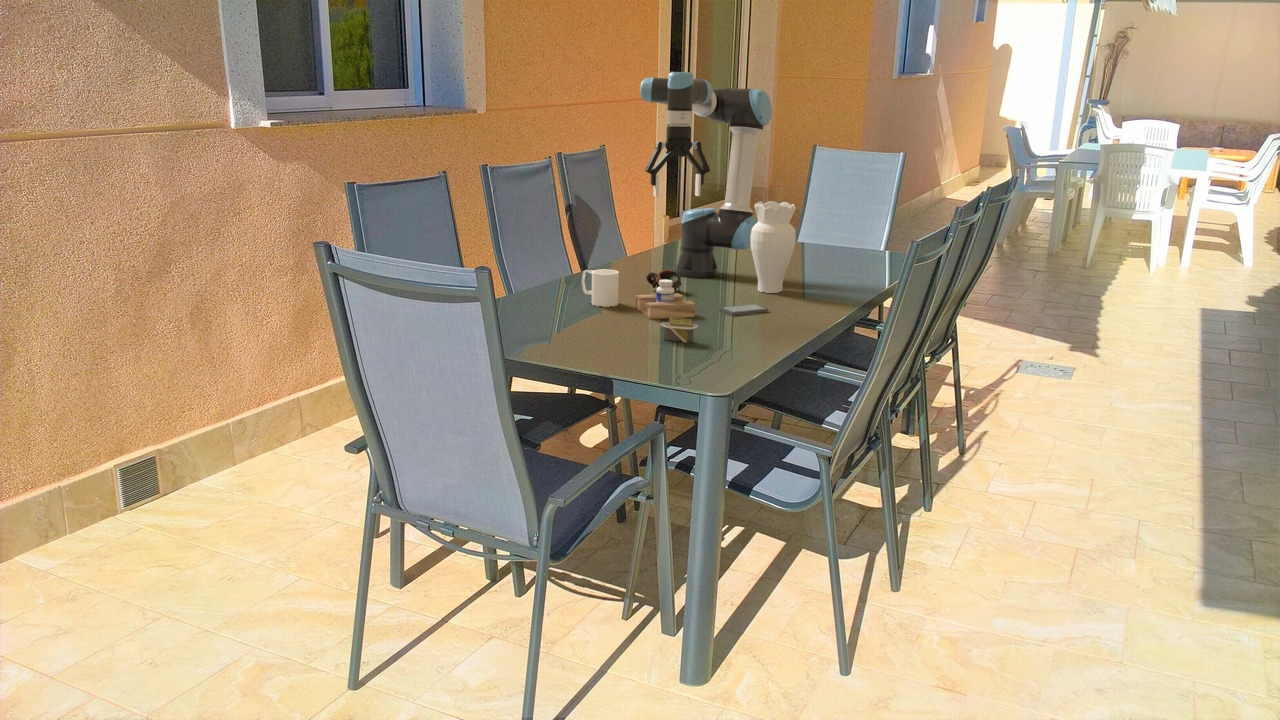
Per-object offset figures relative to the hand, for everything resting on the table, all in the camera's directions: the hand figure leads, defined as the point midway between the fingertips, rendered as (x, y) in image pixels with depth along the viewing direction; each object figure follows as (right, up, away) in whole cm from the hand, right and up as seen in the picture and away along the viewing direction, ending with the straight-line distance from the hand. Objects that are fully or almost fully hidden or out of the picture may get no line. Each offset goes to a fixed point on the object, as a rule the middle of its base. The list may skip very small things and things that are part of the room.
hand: (676, 196), depth 310 cm
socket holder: (-4, -36, -7) cm, 37 cm away
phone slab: (+20, -36, -4) cm, 41 cm away
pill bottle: (-4, -36, -7) cm, 37 cm away
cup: (-24, -33, +3) cm, 41 cm away
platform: (-1, -46, -38) cm, 60 cm away
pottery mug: (-4, -28, +21) cm, 36 cm away
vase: (+32, -28, +25) cm, 49 cm away
